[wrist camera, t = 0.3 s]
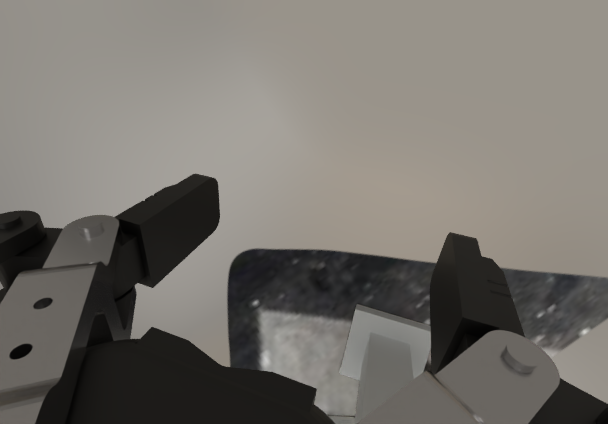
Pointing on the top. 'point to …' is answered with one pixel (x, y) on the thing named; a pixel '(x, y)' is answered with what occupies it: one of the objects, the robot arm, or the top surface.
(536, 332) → the top surface
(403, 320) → the stand
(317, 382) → the top surface
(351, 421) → the syrup box
